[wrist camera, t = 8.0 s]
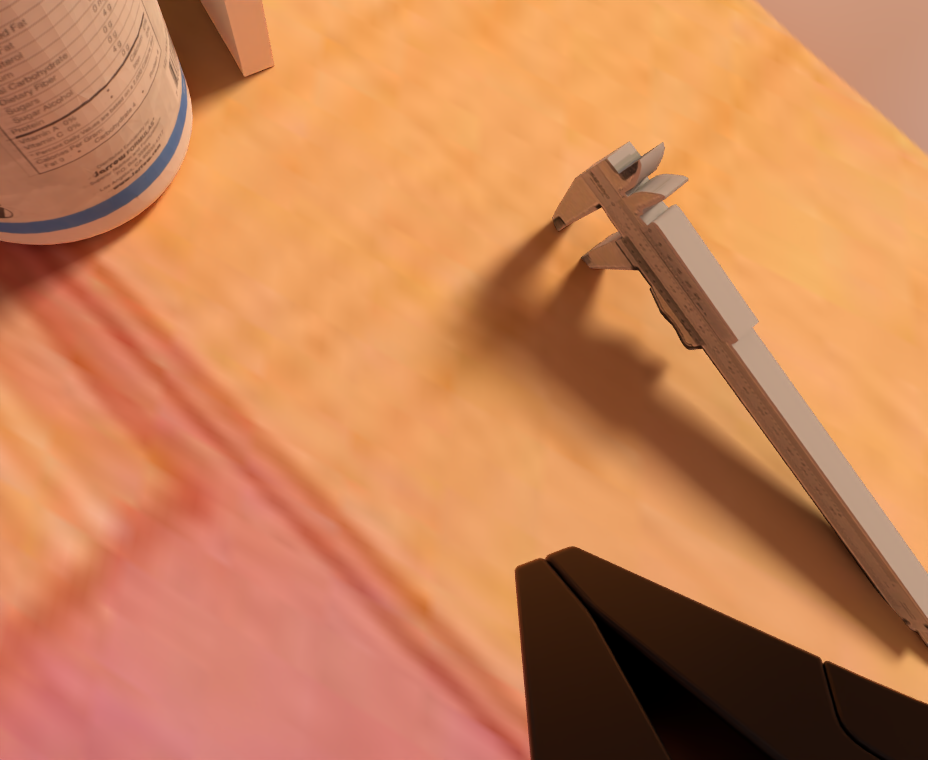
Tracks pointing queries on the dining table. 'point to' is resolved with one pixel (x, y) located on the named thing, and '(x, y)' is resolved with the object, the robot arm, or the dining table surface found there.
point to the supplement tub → (86, 116)
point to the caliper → (739, 357)
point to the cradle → (242, 32)
